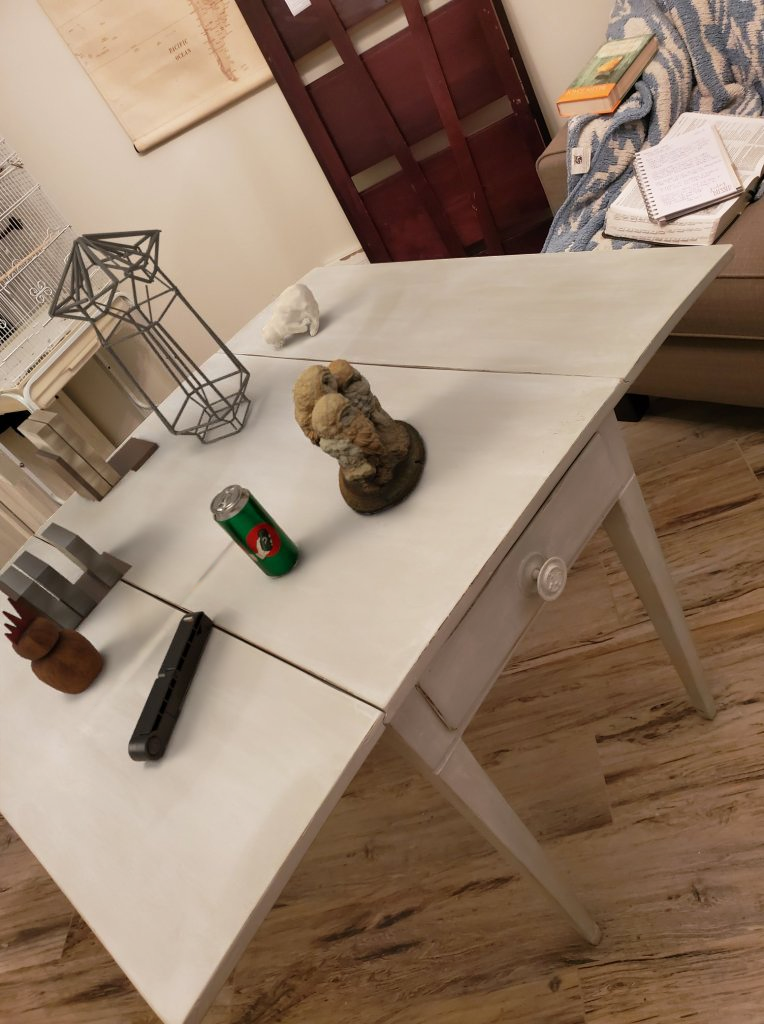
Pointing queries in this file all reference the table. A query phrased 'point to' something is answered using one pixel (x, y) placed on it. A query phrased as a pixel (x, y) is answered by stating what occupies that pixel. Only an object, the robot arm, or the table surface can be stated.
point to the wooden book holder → (82, 455)
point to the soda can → (254, 530)
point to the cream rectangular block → (10, 470)
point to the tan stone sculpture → (358, 436)
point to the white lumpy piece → (292, 314)
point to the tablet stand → (169, 688)
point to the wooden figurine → (53, 651)
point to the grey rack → (63, 580)
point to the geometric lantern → (80, 274)
